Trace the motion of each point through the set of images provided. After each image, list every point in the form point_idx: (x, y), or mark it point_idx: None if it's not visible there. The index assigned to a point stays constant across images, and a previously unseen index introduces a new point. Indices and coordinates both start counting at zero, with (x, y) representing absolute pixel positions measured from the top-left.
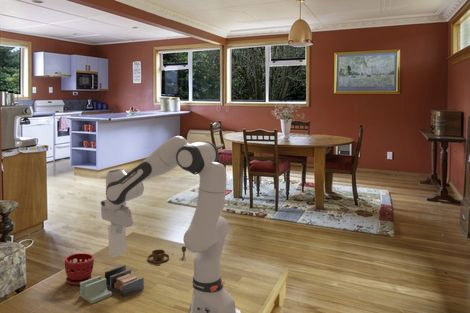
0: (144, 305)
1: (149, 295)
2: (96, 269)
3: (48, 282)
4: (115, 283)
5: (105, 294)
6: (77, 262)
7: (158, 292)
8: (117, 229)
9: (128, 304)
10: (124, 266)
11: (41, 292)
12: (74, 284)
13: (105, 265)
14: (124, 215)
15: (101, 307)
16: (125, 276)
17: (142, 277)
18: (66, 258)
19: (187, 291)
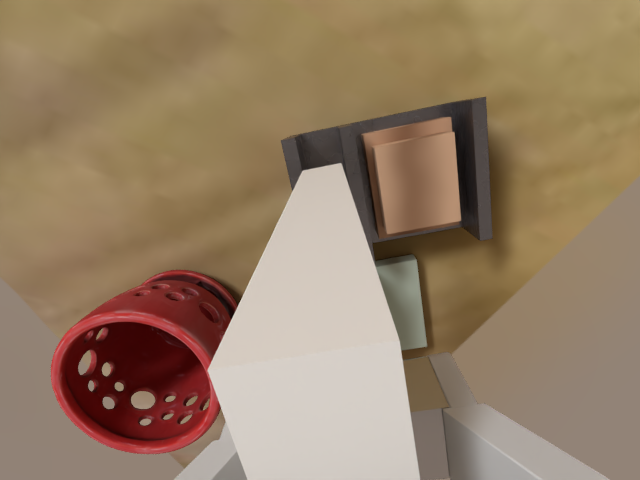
0: (602, 178)
1: (542, 111)
2: (95, 210)
3: (143, 403)
4: (388, 235)
5: (417, 289)
6: (95, 344)
7: (553, 52)
8: (424, 473)
9: (538, 230)
10: (297, 147)
11: (219, 437)
12: None
13: (60, 151)
14: None
15: (476, 321)
16: (395, 183)
17: (480, 102)
18: (116, 444)
19: None
